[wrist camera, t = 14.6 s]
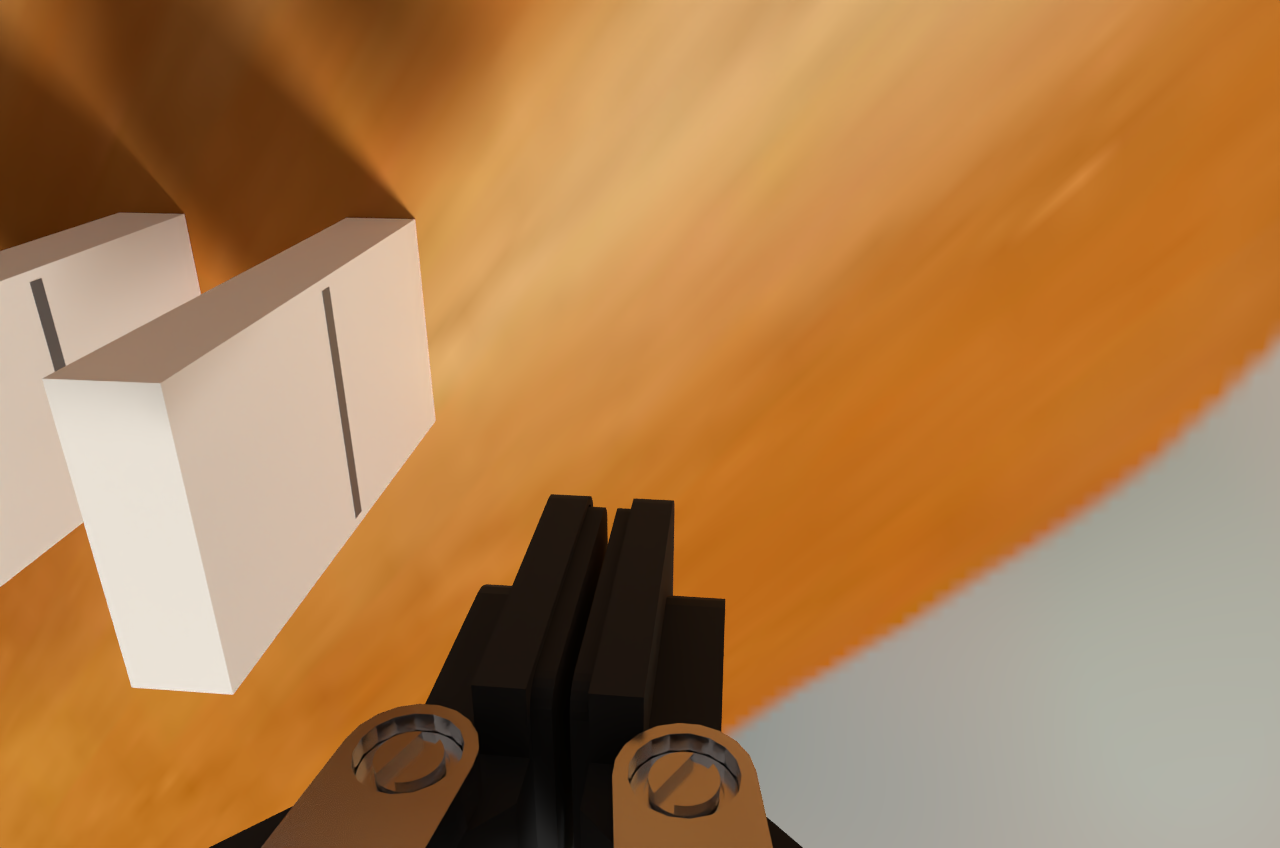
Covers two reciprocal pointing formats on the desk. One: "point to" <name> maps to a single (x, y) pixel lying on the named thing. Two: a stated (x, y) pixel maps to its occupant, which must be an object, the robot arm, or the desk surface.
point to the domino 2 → (245, 446)
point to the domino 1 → (70, 351)
